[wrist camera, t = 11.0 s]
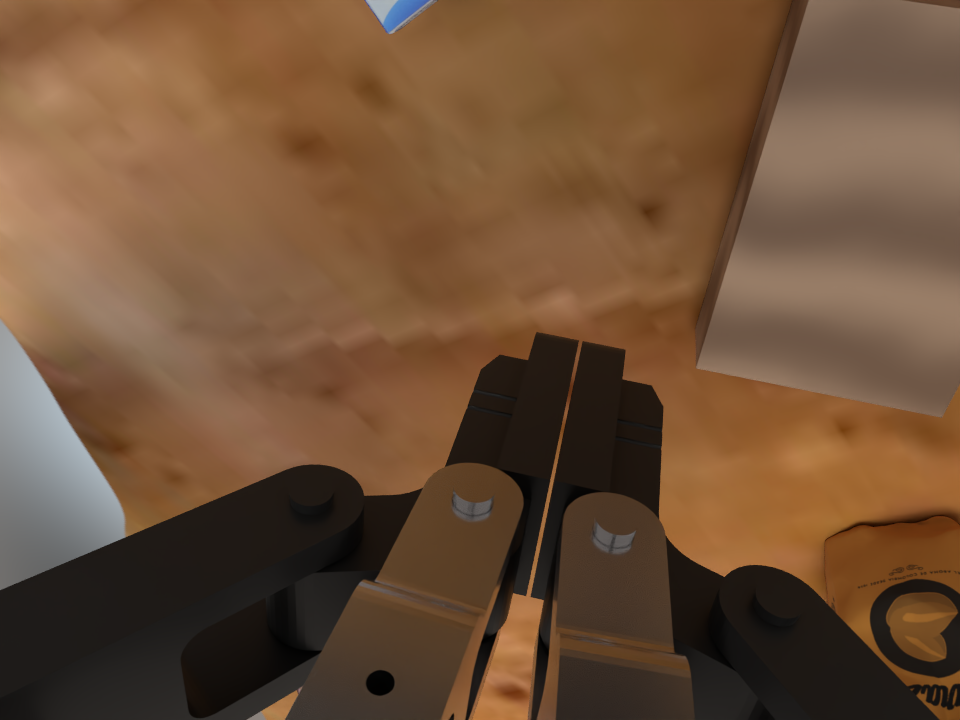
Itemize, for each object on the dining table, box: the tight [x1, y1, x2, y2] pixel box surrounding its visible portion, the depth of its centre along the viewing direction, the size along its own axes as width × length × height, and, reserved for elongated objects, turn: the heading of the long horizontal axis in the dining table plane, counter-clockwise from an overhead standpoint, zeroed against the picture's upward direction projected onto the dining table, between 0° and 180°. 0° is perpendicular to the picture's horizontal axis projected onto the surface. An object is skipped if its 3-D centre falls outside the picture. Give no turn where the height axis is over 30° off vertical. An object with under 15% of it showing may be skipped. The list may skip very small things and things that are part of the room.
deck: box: [696, 0, 960, 418], centre depth 38 cm, size 18×12×4 cm, turn 174°
